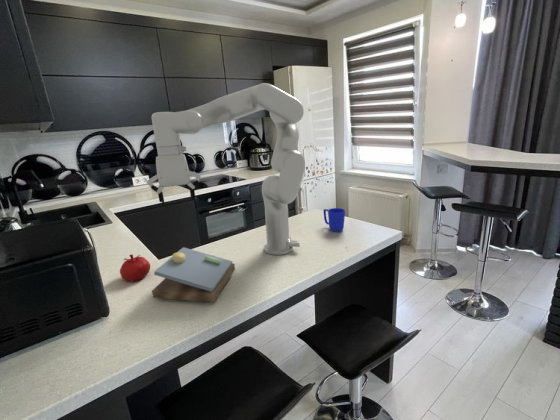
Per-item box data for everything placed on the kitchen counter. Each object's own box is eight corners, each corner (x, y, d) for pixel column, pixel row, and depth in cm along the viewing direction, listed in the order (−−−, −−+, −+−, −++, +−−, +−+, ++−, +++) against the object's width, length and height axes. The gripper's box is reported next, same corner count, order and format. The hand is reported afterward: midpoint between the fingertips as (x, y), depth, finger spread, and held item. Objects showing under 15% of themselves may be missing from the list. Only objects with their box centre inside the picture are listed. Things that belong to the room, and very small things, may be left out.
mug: (329, 224, 152) (329, 205, 149) (348, 229, 143) (348, 210, 140) (318, 228, 147) (318, 209, 144) (337, 234, 138) (337, 214, 135)
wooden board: (235, 273, 106) (234, 263, 105) (214, 306, 88) (212, 294, 87) (184, 270, 110) (183, 261, 109) (153, 301, 91) (151, 290, 90)
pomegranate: (157, 273, 110) (153, 251, 107) (133, 286, 101) (129, 262, 98) (138, 268, 114) (135, 246, 111) (115, 280, 105) (110, 257, 103)
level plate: (232, 264, 104) (233, 256, 103) (212, 292, 88) (213, 283, 86) (182, 250, 106) (183, 242, 105) (154, 274, 89) (154, 265, 88)
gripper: (195, 148, 102) (202, 195, 107) (141, 153, 96) (151, 203, 101) (198, 149, 95) (205, 200, 100) (140, 155, 90) (150, 208, 95)
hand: (178, 201), depth 101 cm, fingers open, 9 cm apart
